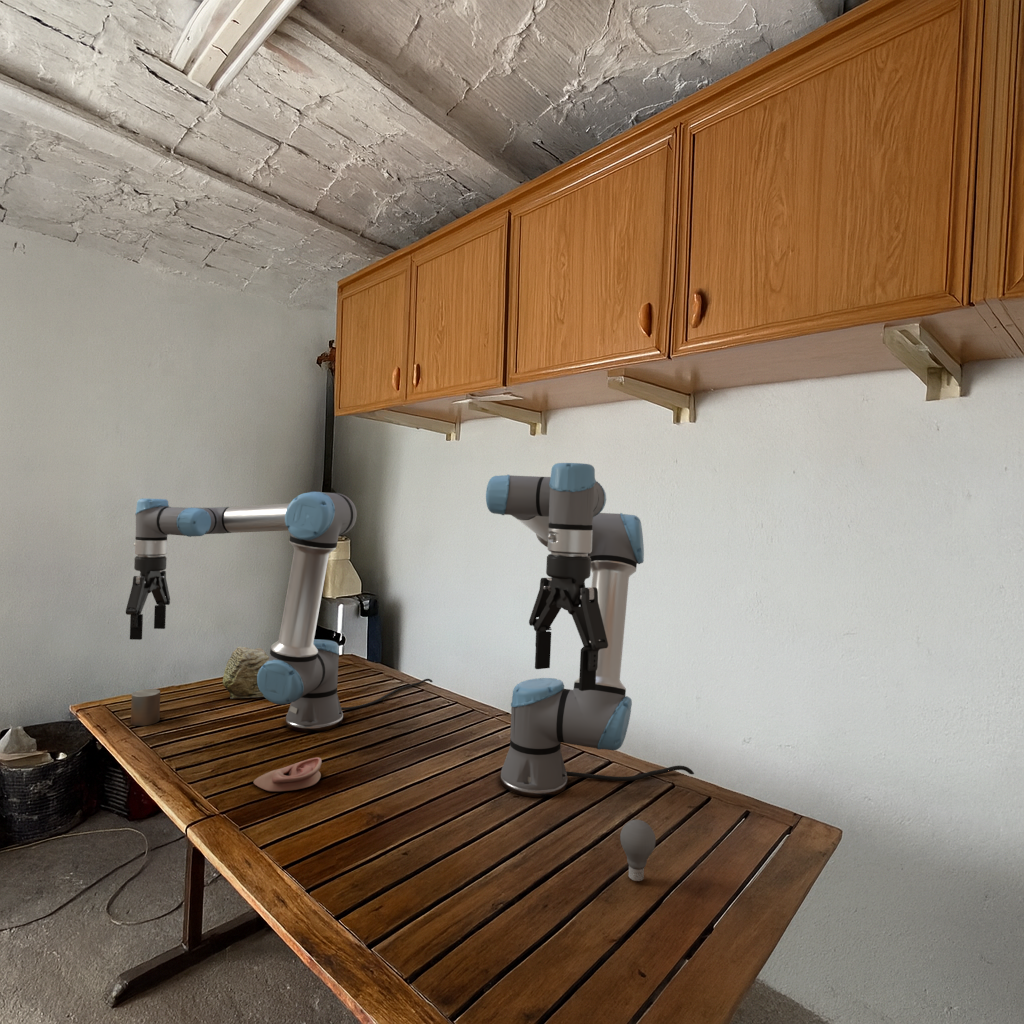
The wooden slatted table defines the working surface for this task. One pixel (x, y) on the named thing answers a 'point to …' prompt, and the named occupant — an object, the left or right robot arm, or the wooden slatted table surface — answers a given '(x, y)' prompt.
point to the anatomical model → (291, 776)
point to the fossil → (244, 672)
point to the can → (145, 707)
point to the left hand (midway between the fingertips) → (148, 633)
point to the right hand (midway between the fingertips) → (563, 678)
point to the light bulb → (637, 846)
